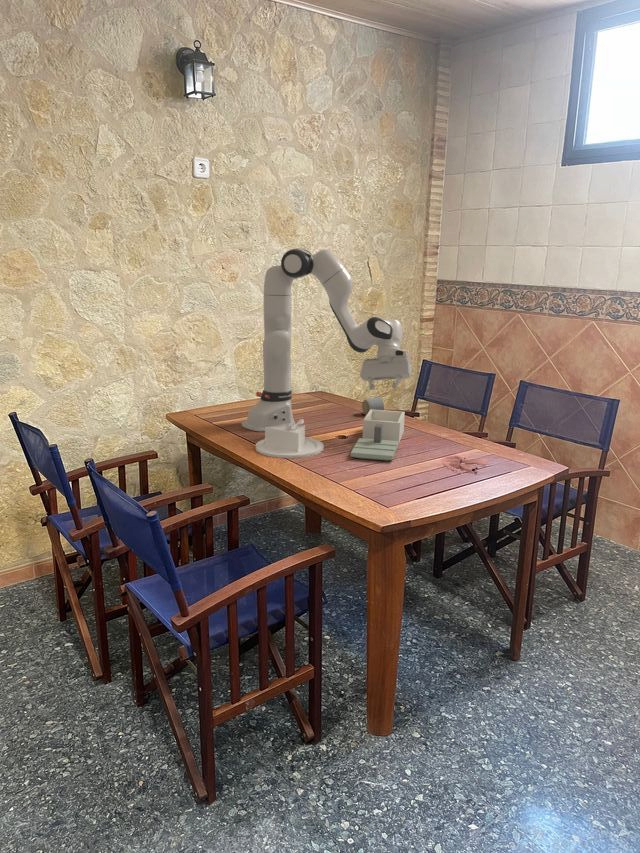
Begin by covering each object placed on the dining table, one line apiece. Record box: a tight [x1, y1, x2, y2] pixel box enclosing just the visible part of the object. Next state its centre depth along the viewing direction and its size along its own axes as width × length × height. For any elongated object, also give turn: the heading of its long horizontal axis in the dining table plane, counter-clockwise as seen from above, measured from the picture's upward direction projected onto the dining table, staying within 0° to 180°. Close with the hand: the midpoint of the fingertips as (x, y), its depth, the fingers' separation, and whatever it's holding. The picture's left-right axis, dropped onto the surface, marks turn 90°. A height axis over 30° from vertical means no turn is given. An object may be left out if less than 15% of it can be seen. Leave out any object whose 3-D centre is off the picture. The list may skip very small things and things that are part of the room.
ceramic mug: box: [361, 396, 385, 416], centre depth 279 cm, size 11×8×8 cm
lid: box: [350, 424, 399, 462], centre depth 226 cm, size 19×15×9 cm
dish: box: [255, 418, 325, 459], centre depth 230 cm, size 25×25×11 cm
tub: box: [362, 409, 405, 444], centre depth 248 cm, size 18×14×8 cm
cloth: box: [440, 454, 489, 474], centre depth 214 cm, size 20×22×2 cm
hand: (383, 388), depth 243 cm, fingers open, 8 cm apart
